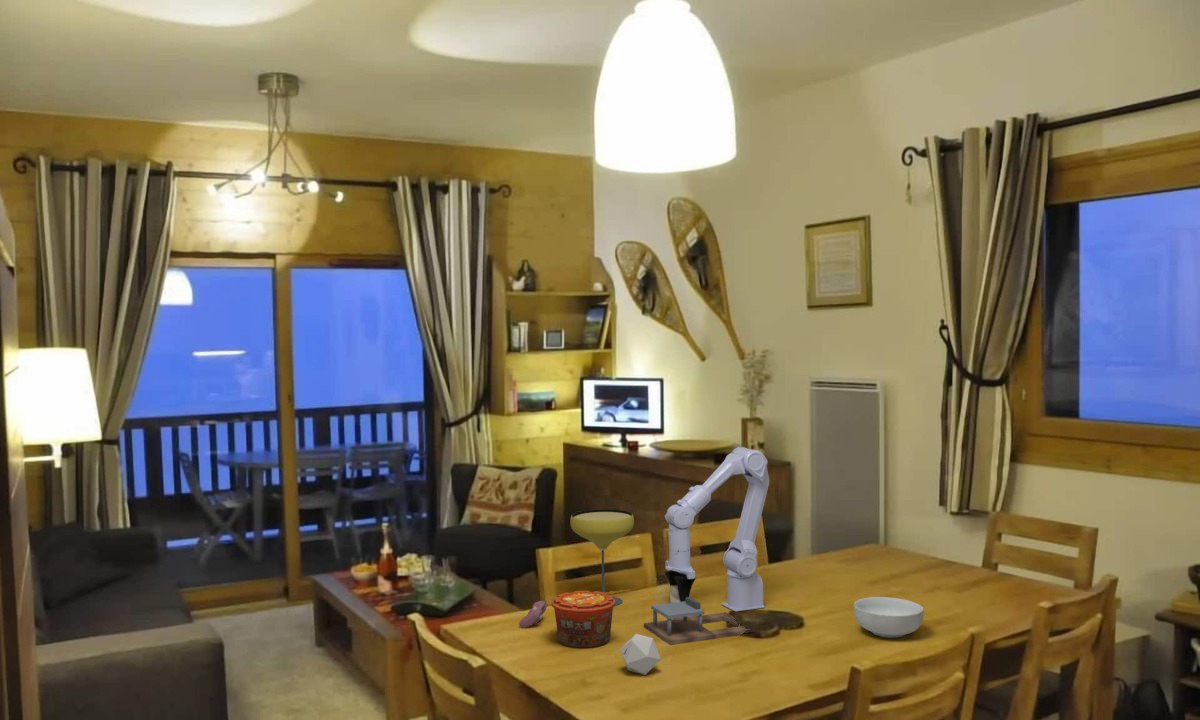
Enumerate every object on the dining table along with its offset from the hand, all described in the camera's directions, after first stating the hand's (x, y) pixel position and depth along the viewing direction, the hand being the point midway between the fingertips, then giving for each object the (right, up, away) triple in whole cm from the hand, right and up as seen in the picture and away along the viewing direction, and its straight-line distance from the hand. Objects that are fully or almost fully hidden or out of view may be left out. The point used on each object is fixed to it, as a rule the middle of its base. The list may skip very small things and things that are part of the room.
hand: (680, 599), depth 266 cm
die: (-13, -6, -44) cm, 47 cm away
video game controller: (-39, -5, -6) cm, 40 cm away
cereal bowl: (+51, -4, -20) cm, 55 cm away
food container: (-26, -5, -22) cm, 34 cm away
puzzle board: (+4, -4, -15) cm, 16 cm away
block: (0, -2, 0) cm, 2 cm away
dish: (0, -4, 0) cm, 4 cm away
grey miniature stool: (-2, -3, -17) cm, 17 cm away
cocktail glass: (-21, -4, +13) cm, 25 cm away
